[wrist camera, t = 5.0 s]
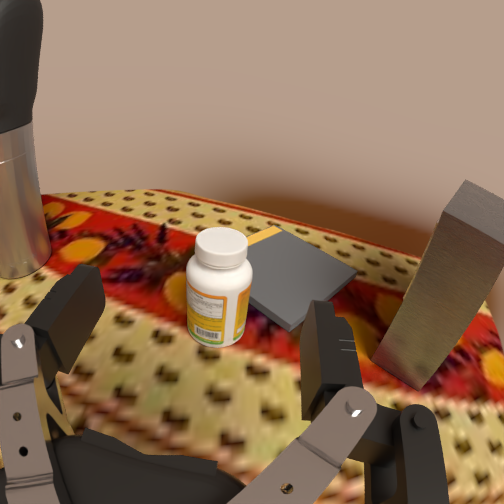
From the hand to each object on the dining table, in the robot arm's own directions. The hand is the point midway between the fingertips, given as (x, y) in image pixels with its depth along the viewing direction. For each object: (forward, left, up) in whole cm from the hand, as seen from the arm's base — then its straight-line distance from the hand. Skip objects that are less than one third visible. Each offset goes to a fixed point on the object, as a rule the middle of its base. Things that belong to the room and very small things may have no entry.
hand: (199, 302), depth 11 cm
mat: (-10, +21, -14) cm, 27 cm away
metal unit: (+8, +26, -14) cm, 31 cm away
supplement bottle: (-8, +9, -15) cm, 19 cm away
